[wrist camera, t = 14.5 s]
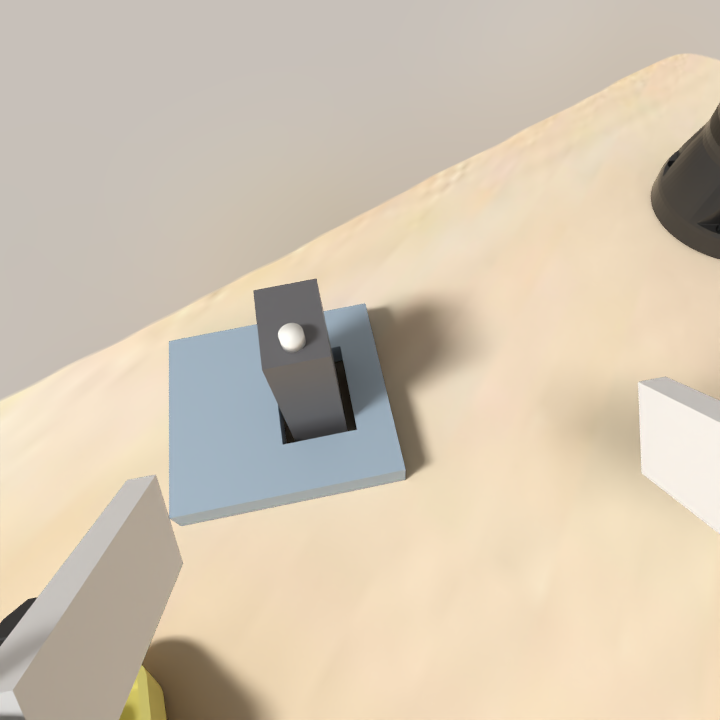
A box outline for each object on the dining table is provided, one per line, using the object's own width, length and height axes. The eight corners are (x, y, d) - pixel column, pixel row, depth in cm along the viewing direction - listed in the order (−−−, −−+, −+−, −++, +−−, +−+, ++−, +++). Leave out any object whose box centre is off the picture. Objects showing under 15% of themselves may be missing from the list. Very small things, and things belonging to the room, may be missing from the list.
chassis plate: (366, 319, 50) (365, 303, 48) (405, 479, 42) (405, 469, 40) (179, 355, 49) (169, 341, 47) (181, 526, 41) (169, 518, 39)
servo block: (336, 370, 47) (314, 269, 35) (348, 434, 44) (329, 348, 32) (288, 379, 47) (249, 281, 35) (296, 445, 44) (258, 361, 32)
